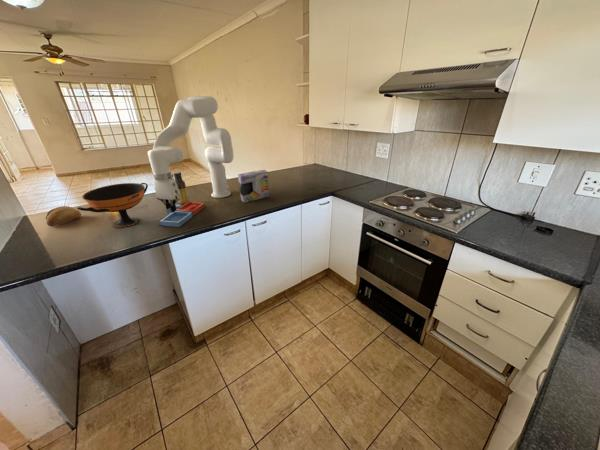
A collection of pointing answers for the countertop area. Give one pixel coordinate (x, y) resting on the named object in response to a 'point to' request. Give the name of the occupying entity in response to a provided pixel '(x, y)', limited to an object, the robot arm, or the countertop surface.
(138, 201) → the cup
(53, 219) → the bread roll
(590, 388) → the countertop surface
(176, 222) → the blue tray
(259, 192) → the cake pan box
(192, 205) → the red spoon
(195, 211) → the red tray
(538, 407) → the countertop surface
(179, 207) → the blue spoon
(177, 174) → the sauce bottle
